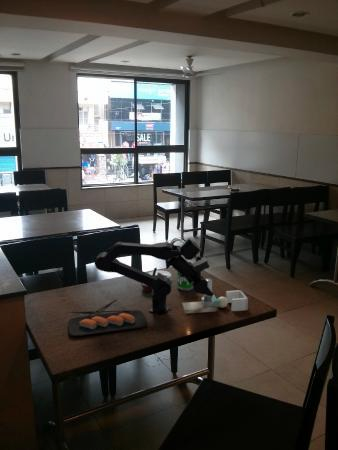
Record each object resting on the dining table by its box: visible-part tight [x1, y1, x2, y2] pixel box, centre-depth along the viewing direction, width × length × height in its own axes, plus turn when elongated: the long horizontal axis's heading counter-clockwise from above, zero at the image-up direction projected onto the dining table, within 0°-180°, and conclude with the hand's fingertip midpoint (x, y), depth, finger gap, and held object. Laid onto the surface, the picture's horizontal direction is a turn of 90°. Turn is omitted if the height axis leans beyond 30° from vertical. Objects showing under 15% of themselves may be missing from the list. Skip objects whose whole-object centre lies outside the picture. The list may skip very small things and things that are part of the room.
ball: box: [216, 296, 229, 309], centre depth 169 cm, size 4×4×4 cm
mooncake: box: [148, 269, 172, 282], centre depth 200 cm, size 12×12×4 cm
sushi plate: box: [67, 299, 148, 337], centre depth 162 cm, size 29×30×4 cm
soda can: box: [177, 271, 194, 292], centre depth 188 cm, size 8×8×12 cm
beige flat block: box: [181, 301, 218, 314], centre depth 168 cm, size 13×7×2 cm, turn 98°
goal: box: [225, 289, 249, 312], centre depth 170 cm, size 6×9×5 cm
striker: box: [200, 278, 218, 307], centre depth 167 cm, size 6×6×11 cm
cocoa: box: [140, 267, 158, 293], centre depth 185 cm, size 10×6×12 cm, turn 27°
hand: (209, 290), depth 167 cm, fingers open, 9 cm apart
